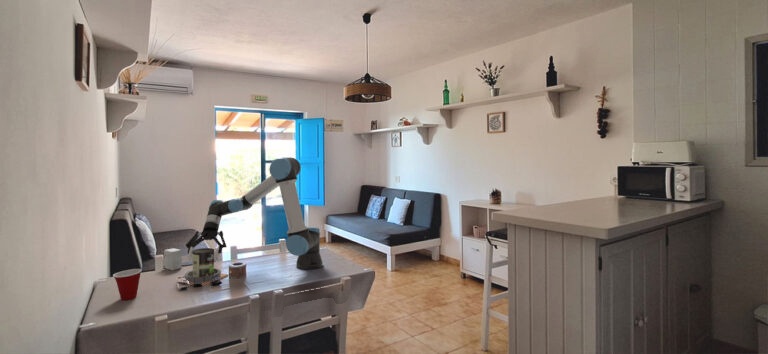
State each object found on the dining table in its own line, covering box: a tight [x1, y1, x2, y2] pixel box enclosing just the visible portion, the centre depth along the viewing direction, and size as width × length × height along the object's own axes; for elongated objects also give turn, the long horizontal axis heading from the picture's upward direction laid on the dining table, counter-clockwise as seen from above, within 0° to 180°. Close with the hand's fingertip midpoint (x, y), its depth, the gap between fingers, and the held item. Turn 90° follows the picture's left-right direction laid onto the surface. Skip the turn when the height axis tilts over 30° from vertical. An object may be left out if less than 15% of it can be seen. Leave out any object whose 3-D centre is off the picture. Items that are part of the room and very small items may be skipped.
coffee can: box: [192, 247, 215, 277], centre depth 198 cm, size 10×10×14 cm
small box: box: [163, 248, 183, 271], centre depth 216 cm, size 8×6×10 cm
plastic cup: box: [112, 268, 143, 301], centre depth 171 cm, size 11×11×12 cm
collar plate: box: [176, 267, 229, 287], centre depth 198 cm, size 17×17×4 cm
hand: (202, 258), depth 198 cm, fingers open, 13 cm apart
